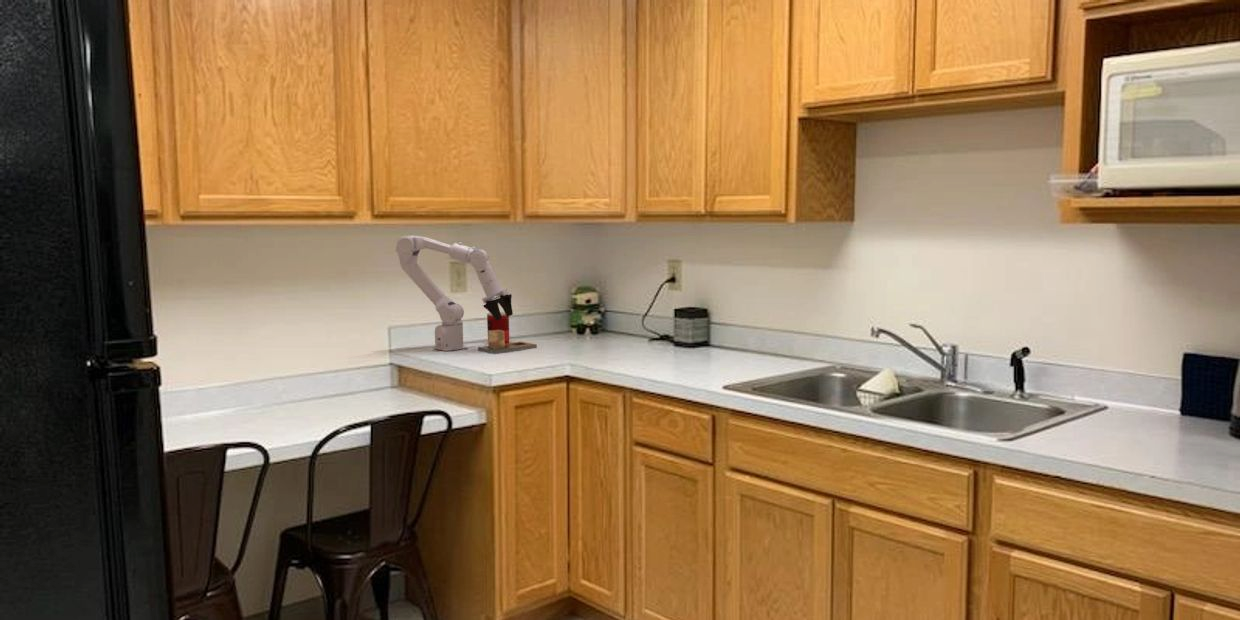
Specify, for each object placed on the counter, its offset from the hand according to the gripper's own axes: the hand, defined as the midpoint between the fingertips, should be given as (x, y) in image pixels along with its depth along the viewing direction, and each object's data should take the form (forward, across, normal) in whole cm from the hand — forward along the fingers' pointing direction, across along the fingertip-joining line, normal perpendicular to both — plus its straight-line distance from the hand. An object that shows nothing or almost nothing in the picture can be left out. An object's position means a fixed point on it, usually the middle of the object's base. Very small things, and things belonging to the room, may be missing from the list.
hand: (504, 317), depth 319 cm
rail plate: (+11, +2, +3) cm, 11 cm away
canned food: (+8, +16, -4) cm, 19 cm away
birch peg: (+9, +2, +7) cm, 12 cm away
